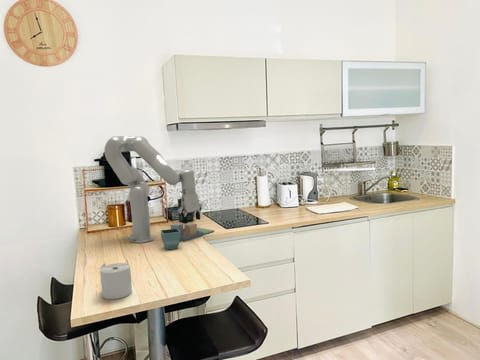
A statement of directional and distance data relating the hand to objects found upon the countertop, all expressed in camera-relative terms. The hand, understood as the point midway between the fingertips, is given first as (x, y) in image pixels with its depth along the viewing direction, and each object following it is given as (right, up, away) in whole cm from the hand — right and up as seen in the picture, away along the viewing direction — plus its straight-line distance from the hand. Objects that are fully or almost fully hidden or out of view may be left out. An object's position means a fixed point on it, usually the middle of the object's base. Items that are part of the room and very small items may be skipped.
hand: (191, 221), depth 218 cm
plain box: (-9, -8, +3) cm, 12 cm away
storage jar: (-9, -5, +42) cm, 43 cm away
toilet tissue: (-19, -19, -74) cm, 79 cm away
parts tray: (-4, -9, +2) cm, 10 cm away
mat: (+4, -7, +11) cm, 14 cm away
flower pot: (-8, -12, -19) cm, 24 cm away
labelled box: (0, -8, +1) cm, 8 cm away
